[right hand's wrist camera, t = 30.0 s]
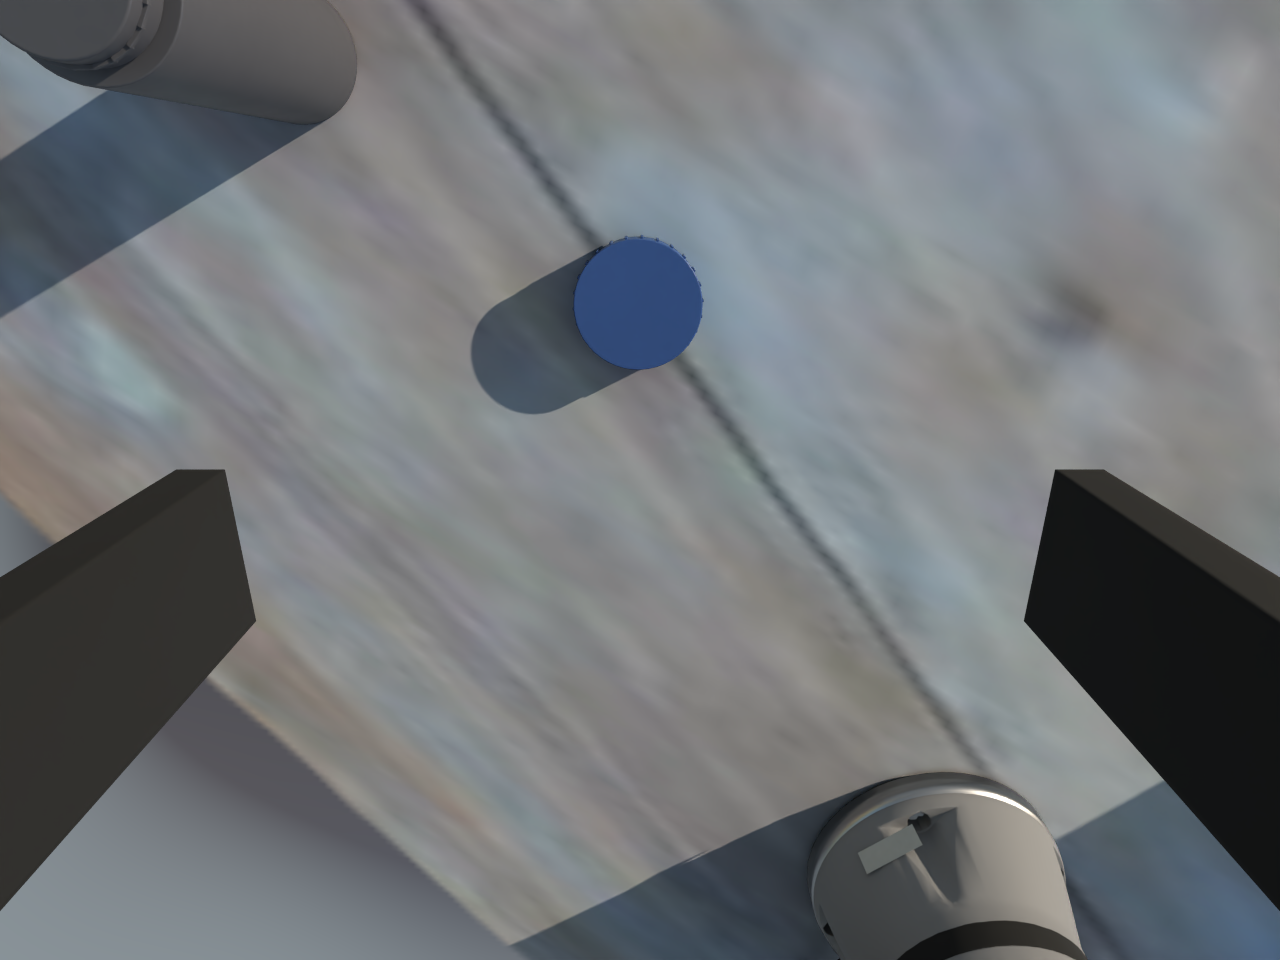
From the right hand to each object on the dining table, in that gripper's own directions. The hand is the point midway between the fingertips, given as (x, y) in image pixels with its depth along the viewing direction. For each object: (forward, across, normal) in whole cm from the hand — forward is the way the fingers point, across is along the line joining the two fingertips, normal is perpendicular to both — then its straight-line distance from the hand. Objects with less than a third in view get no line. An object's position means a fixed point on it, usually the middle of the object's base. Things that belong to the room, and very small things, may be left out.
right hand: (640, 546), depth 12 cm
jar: (+26, +15, -11) cm, 31 cm away
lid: (+24, 0, 0) cm, 24 cm away
